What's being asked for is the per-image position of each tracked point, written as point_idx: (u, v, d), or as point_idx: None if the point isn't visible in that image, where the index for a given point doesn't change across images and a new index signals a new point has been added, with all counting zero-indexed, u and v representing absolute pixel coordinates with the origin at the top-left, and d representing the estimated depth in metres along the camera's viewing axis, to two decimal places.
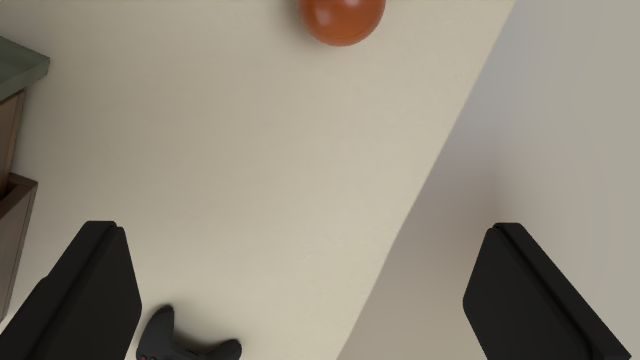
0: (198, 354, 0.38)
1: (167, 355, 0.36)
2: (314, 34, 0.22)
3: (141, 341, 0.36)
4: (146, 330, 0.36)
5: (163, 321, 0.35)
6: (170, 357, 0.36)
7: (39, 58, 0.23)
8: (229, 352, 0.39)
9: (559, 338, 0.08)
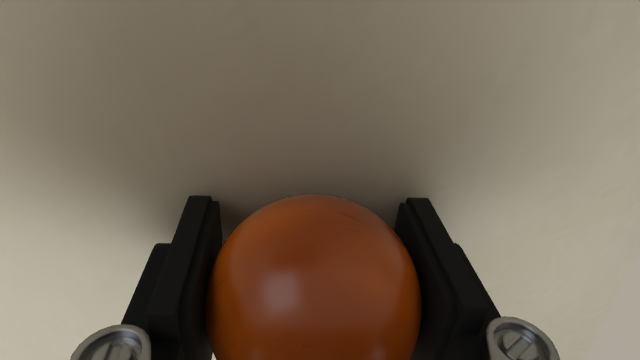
0: None
1: None
2: (230, 287, 0.08)
3: None
4: None
5: None
6: None
7: None
8: None
9: (437, 296, 0.08)
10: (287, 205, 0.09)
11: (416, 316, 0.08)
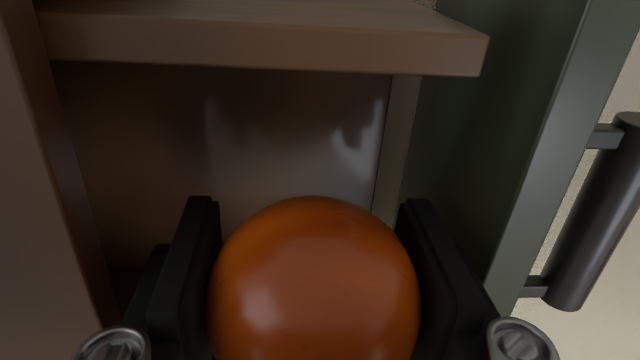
0: None
1: None
2: (230, 288, 0.08)
3: None
4: None
5: None
6: None
7: None
8: None
9: (437, 296, 0.08)
10: (287, 206, 0.09)
11: (415, 317, 0.08)
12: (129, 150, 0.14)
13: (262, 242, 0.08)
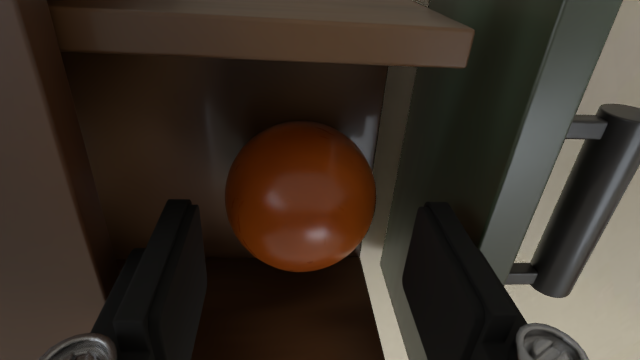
0: None
1: None
2: (241, 169, 0.12)
3: None
4: None
5: None
6: None
7: None
8: None
9: (462, 301, 0.08)
10: (283, 123, 0.13)
11: (366, 199, 0.12)
12: (133, 142, 0.15)
13: (264, 141, 0.12)
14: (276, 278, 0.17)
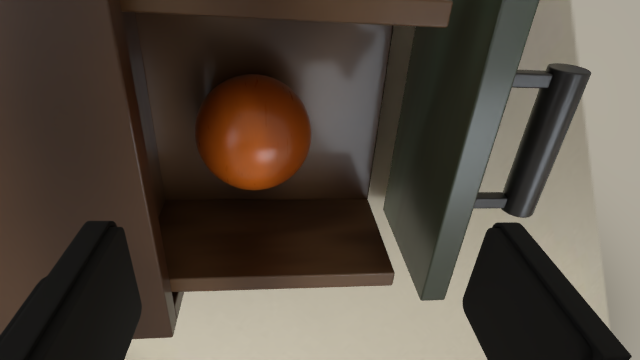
0: None
1: None
2: None
3: None
4: None
5: None
6: None
7: None
8: None
9: (559, 338, 0.08)
10: (262, 75, 0.17)
11: (229, 136, 0.15)
12: (193, 100, 0.19)
13: None
14: (302, 213, 0.21)
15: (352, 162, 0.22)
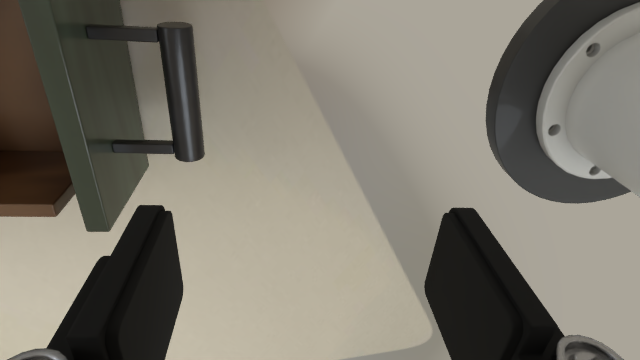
0: None
1: None
2: None
3: None
4: None
5: None
6: None
7: (145, 166, 0.27)
8: None
9: (496, 312, 0.08)
10: None
11: None
12: None
13: None
14: (22, 160, 0.24)
15: None
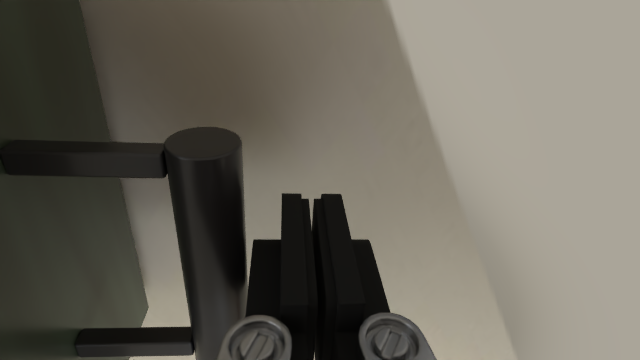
0: None
1: None
2: None
3: None
4: None
5: None
6: None
7: (143, 315, 0.17)
8: None
9: (324, 292, 0.08)
10: None
11: None
12: None
13: None
14: None
15: None
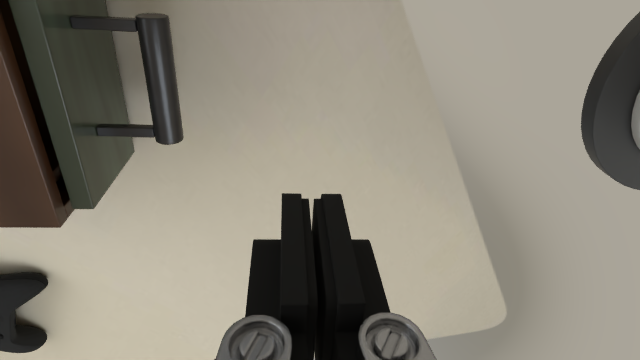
0: (15, 327, 0.36)
1: None
2: None
3: None
4: (10, 283, 0.33)
5: (35, 290, 0.34)
6: None
7: (131, 152, 0.29)
8: (35, 342, 0.38)
9: (324, 292, 0.08)
10: None
11: None
12: None
13: None
14: None
15: None
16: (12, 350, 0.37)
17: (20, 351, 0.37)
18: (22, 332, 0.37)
